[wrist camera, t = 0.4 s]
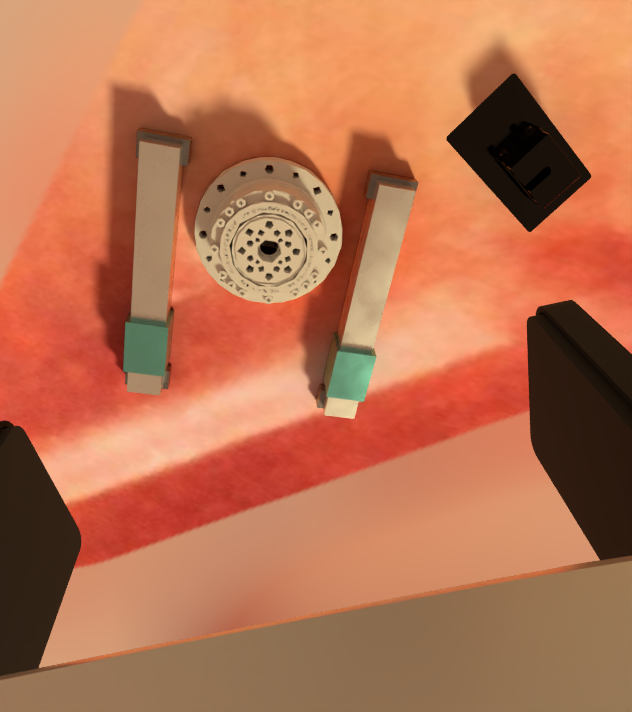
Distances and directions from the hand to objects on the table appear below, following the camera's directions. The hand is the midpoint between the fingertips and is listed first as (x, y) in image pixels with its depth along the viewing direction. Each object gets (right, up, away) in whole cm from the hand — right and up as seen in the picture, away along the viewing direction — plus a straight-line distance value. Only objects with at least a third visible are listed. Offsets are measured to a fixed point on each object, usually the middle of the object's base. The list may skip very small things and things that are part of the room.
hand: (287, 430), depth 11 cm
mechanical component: (-3, +10, +31) cm, 33 cm away
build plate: (+14, +15, +30) cm, 37 cm away
